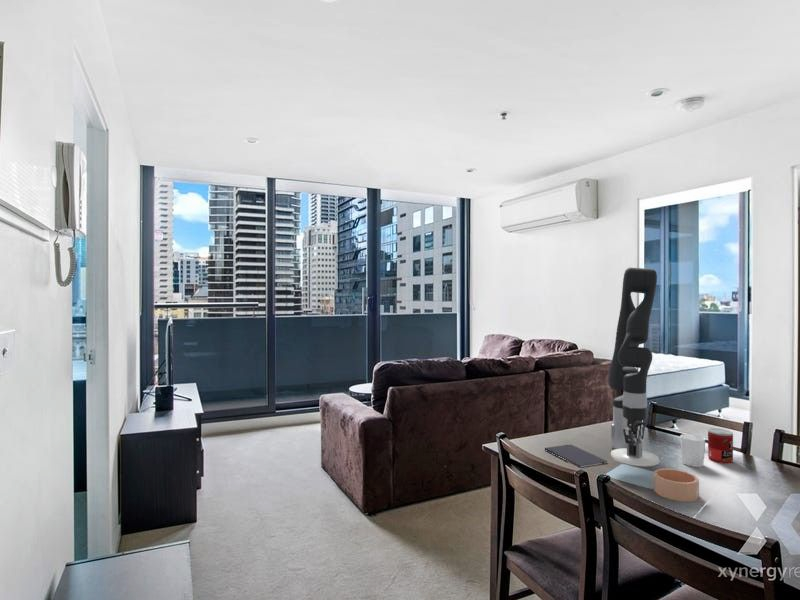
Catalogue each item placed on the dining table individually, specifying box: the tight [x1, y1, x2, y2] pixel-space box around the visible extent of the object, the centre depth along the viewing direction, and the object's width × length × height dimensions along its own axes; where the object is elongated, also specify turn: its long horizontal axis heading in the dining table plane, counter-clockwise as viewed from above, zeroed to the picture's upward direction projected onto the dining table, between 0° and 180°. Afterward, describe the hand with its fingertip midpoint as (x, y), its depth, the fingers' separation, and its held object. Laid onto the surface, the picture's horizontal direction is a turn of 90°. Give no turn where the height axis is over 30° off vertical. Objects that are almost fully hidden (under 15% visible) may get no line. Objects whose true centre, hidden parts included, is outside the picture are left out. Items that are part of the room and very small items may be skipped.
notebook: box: [544, 444, 608, 468], centre depth 184 cm, size 13×2×21 cm
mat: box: [605, 463, 654, 490], centre depth 163 cm, size 16×16×1 cm
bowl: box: [653, 467, 700, 502], centre depth 149 cm, size 12×12×6 cm
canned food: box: [707, 427, 734, 464], centre depth 179 cm, size 8×8×11 cm
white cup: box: [680, 433, 706, 468], centre depth 175 cm, size 8×8×10 cm
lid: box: [610, 440, 660, 467], centre depth 164 cm, size 15×15×6 cm
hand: (634, 453), depth 164 cm, fingers closed on lid, 3 cm apart
